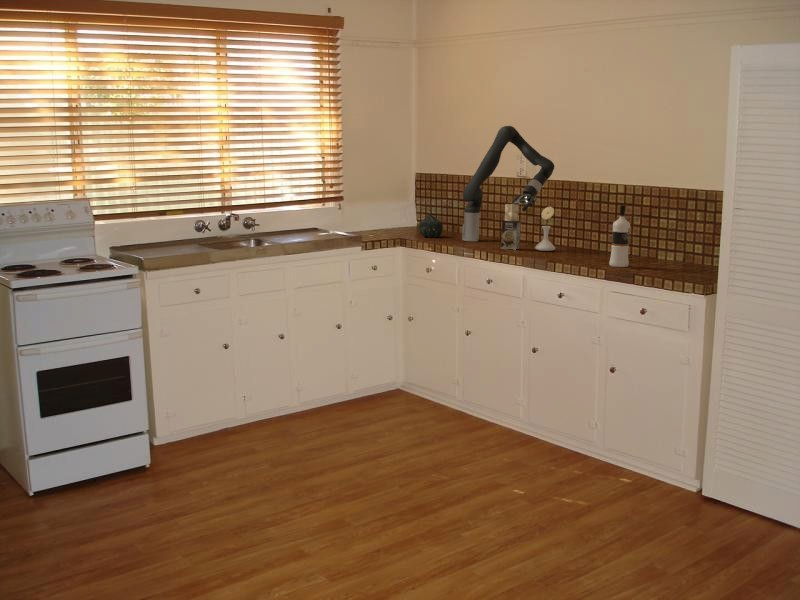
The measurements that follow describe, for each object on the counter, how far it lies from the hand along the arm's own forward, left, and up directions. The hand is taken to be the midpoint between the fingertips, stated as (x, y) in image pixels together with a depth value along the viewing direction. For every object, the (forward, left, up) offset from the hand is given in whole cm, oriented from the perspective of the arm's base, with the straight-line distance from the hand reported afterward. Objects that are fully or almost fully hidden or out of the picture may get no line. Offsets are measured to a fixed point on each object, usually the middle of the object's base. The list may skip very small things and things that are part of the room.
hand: (517, 210), depth 499 cm
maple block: (0, -5, -6) cm, 7 cm away
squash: (-72, -1, -22) cm, 75 cm away
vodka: (+79, -11, -22) cm, 83 cm away
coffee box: (0, -5, -22) cm, 23 cm away
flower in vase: (+16, +7, -22) cm, 28 cm away
